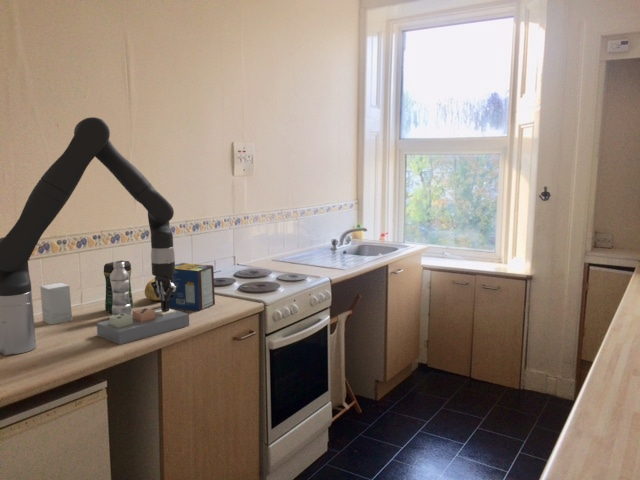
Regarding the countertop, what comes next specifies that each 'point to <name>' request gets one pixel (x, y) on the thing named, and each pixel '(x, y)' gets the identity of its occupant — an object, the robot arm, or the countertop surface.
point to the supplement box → (56, 303)
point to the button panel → (142, 327)
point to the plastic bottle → (120, 289)
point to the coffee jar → (109, 294)
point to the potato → (150, 291)
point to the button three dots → (143, 314)
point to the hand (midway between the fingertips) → (165, 310)
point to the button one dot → (165, 312)
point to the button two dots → (120, 320)
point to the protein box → (193, 287)
